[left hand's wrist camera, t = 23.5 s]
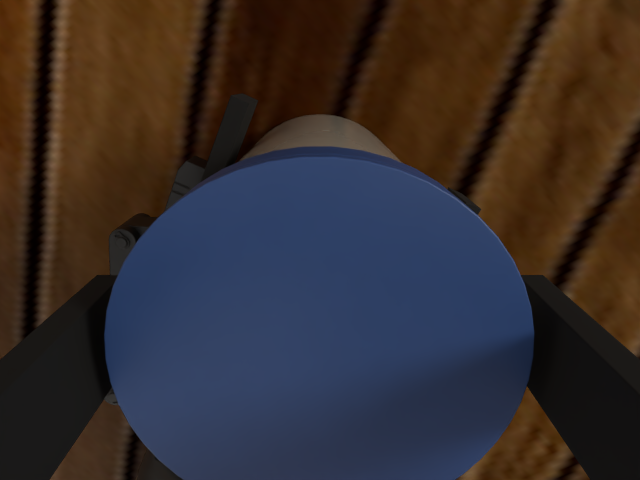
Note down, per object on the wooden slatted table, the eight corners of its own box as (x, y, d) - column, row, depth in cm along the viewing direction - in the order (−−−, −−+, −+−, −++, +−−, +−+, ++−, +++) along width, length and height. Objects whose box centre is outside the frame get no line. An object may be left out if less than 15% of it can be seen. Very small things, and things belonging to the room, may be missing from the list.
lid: (423, 64, 10) (442, 61, 8) (554, 402, 13) (584, 443, 12) (50, 257, 11) (10, 284, 10) (249, 515, 15) (242, 563, 13)
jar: (214, 143, 25) (62, 233, 10) (378, 92, 24) (472, 109, 9) (269, 288, 29) (214, 516, 14) (415, 248, 28) (529, 447, 13)
